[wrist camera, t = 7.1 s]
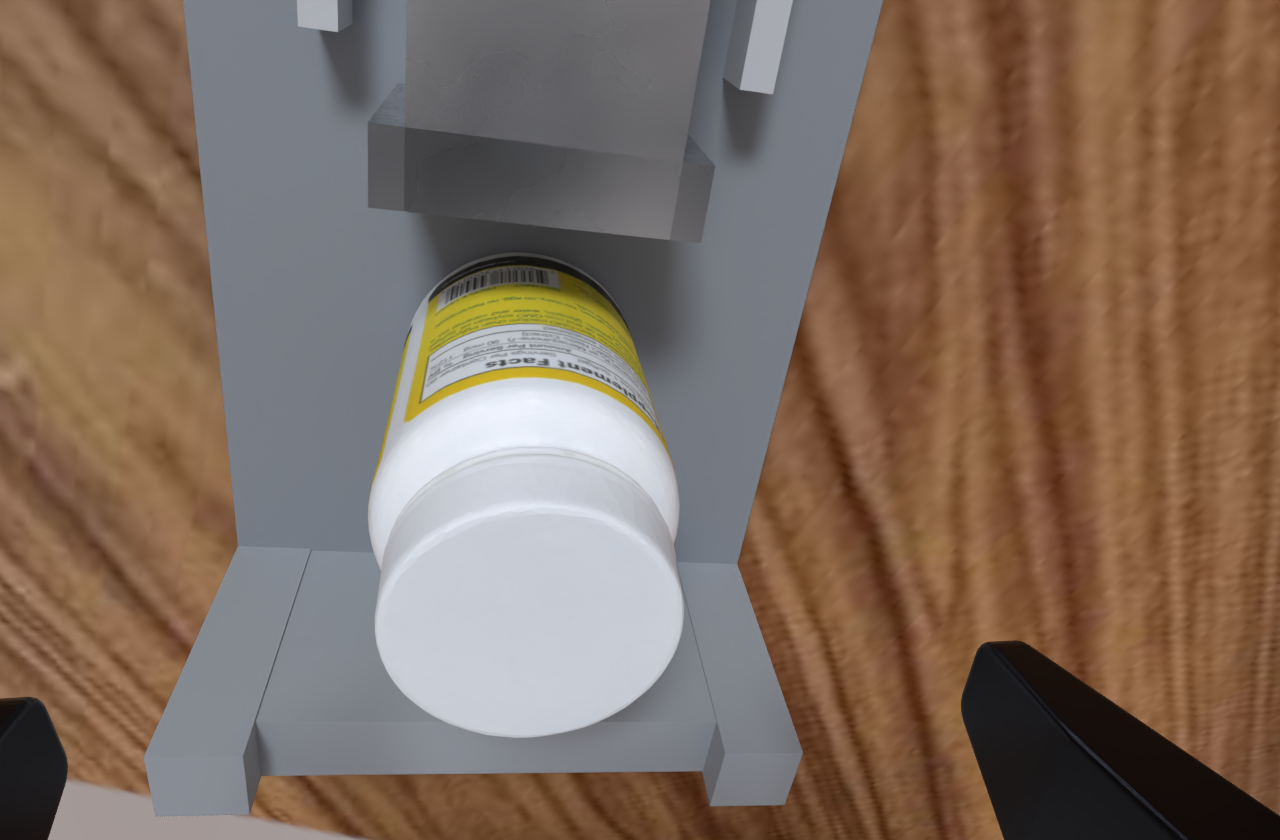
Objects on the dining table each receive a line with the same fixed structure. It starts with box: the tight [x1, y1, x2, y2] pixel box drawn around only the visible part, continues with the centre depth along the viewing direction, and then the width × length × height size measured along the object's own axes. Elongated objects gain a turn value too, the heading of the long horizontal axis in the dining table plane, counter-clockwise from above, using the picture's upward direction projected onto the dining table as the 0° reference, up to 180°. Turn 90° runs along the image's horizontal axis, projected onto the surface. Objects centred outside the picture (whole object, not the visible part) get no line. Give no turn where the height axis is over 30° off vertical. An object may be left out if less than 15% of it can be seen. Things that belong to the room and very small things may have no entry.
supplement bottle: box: [368, 252, 684, 738], centre depth 14 cm, size 5×5×8 cm
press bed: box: [144, 0, 883, 816], centre depth 14 cm, size 12×21×7 cm, turn 172°
